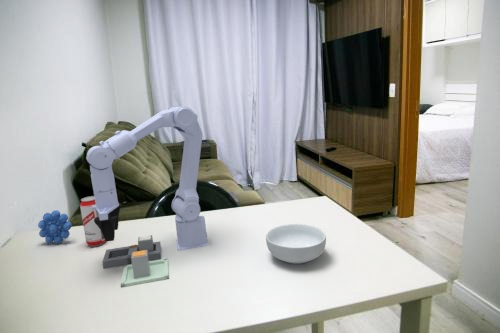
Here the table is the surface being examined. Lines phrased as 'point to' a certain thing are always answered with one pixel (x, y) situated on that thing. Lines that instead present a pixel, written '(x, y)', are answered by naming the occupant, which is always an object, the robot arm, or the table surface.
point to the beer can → (91, 222)
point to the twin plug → (146, 243)
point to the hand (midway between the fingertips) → (112, 234)
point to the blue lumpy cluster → (54, 227)
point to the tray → (156, 274)
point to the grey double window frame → (128, 250)
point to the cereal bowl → (296, 242)
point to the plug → (140, 264)
